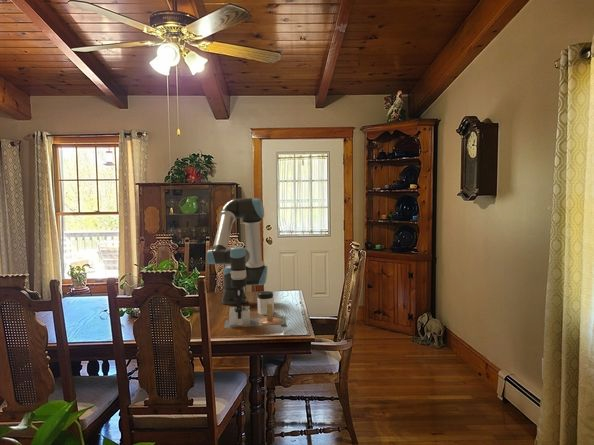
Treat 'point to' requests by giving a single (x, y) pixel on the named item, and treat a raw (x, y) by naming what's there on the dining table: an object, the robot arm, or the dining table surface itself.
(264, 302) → the jar
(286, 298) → the dining table surface
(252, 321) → the post board
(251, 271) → the robot arm
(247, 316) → the collar
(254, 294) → the dining table surface
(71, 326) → the dining table surface
